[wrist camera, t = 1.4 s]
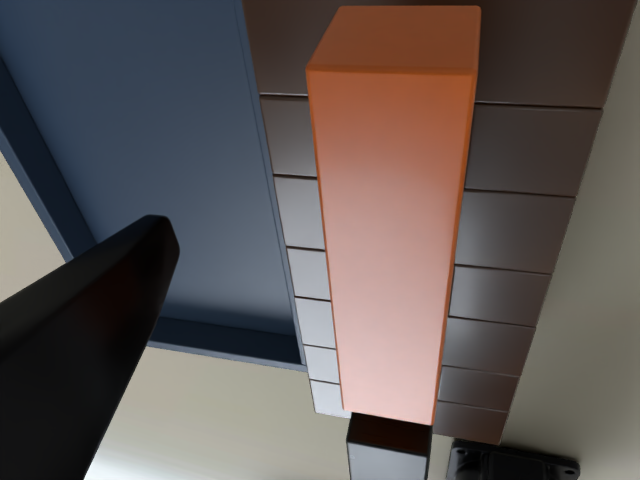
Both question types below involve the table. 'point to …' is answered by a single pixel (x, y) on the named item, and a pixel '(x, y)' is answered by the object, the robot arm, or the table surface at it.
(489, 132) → the rack
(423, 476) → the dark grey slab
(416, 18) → the t handle
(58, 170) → the tray
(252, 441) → the table surface
